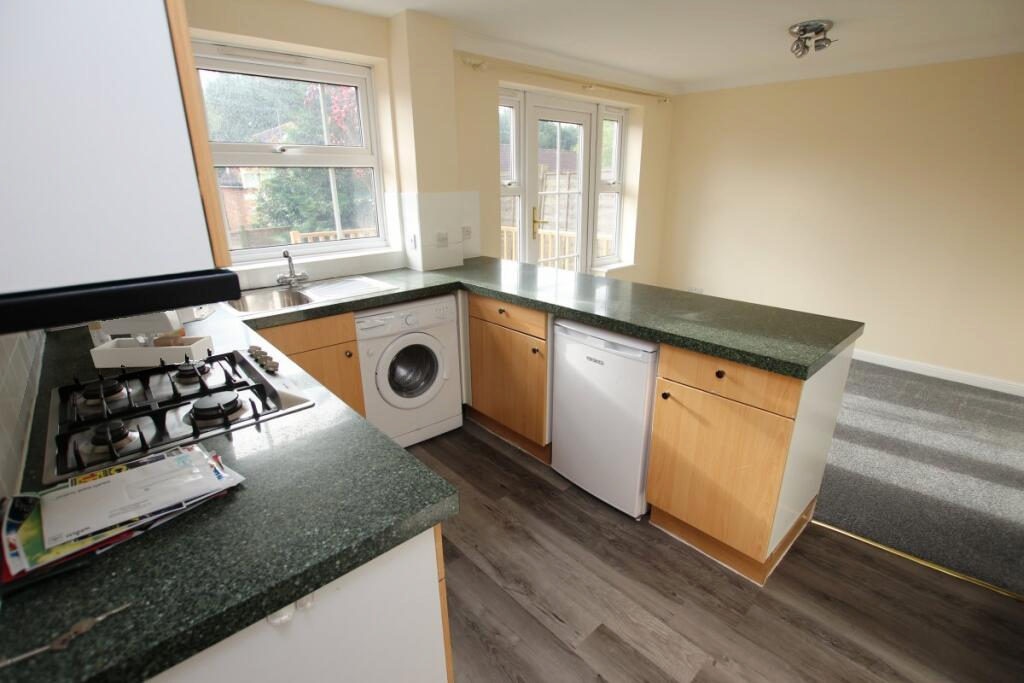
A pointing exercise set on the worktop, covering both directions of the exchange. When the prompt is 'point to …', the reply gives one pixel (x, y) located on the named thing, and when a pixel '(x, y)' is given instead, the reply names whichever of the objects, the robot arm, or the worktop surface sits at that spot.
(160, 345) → the walnut block
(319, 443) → the worktop surface
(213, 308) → the robot arm
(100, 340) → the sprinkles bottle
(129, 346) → the channel
